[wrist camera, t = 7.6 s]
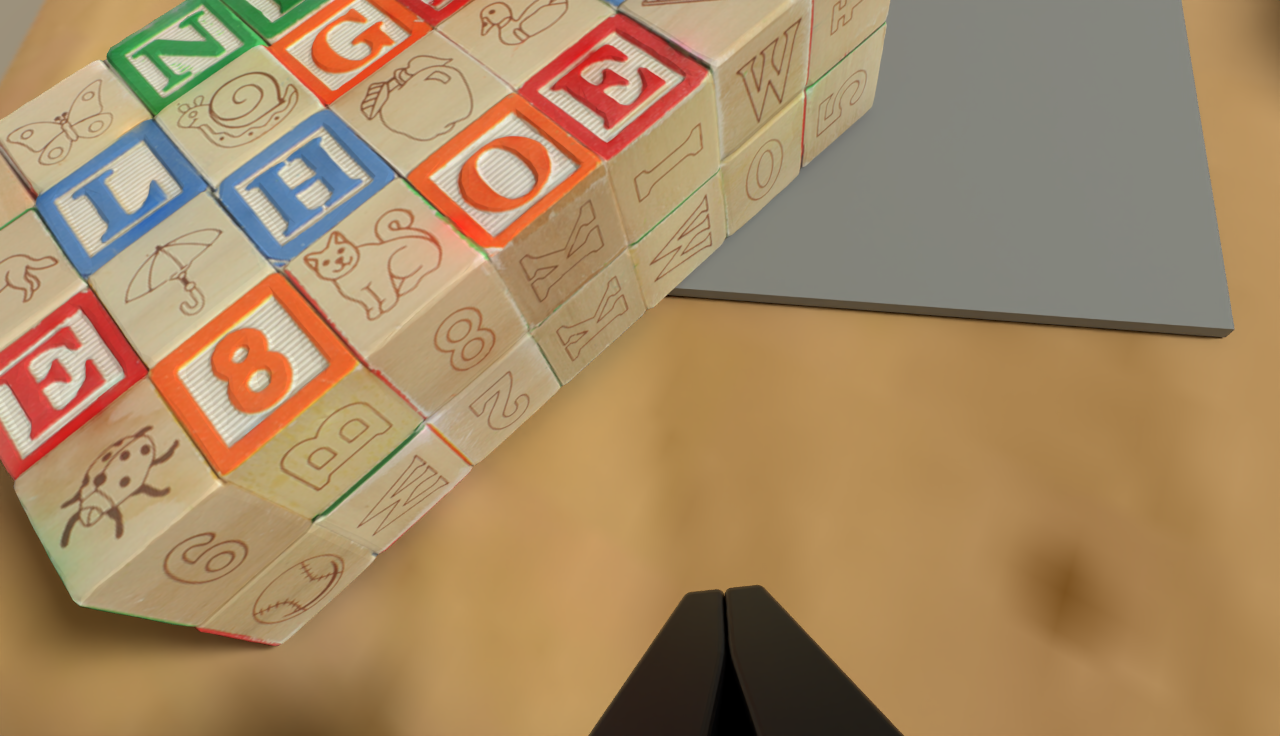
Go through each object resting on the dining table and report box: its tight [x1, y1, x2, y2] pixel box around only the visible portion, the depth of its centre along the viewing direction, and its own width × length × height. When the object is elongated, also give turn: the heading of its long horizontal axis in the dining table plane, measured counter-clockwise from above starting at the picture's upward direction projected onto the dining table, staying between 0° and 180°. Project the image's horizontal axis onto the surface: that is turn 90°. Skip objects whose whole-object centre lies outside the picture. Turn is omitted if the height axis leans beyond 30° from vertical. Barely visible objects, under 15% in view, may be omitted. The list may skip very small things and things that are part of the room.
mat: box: [667, 0, 1234, 337], centre depth 23 cm, size 13×24×1 cm, turn 80°
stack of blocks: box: [0, 0, 890, 646], centre depth 20 cm, size 21×6×12 cm
